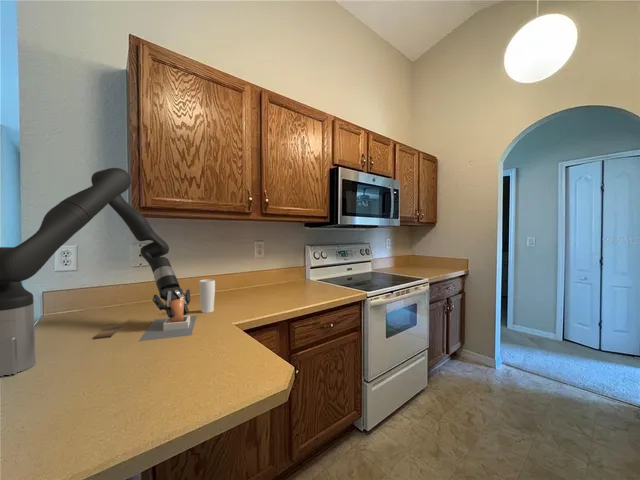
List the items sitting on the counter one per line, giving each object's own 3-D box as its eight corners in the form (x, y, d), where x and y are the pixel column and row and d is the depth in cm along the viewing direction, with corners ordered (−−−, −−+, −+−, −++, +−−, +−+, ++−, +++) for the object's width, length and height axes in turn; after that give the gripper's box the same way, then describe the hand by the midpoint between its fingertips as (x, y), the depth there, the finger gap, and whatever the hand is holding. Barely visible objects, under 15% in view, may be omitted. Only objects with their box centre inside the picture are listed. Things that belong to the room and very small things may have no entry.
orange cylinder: (183, 327, 106) (182, 301, 106) (169, 328, 105) (169, 302, 104) (184, 323, 110) (184, 298, 110) (171, 324, 109) (171, 299, 109)
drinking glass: (196, 313, 126) (195, 281, 126) (208, 310, 132) (208, 278, 132) (206, 316, 123) (206, 282, 123) (218, 312, 129) (218, 279, 129)
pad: (140, 334, 102) (139, 332, 102) (93, 339, 97) (93, 337, 97) (149, 322, 115) (149, 320, 115) (108, 326, 110) (108, 324, 110)
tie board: (191, 338, 98) (191, 328, 98) (138, 344, 93) (138, 333, 93) (196, 317, 121) (196, 309, 121) (154, 321, 116) (154, 313, 115)
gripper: (148, 276, 106) (161, 314, 99) (186, 272, 117) (201, 305, 110) (144, 288, 110) (156, 325, 103) (181, 283, 121) (194, 316, 113)
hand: (179, 315), depth 106 cm, fingers closed on orange cylinder, 4 cm apart
